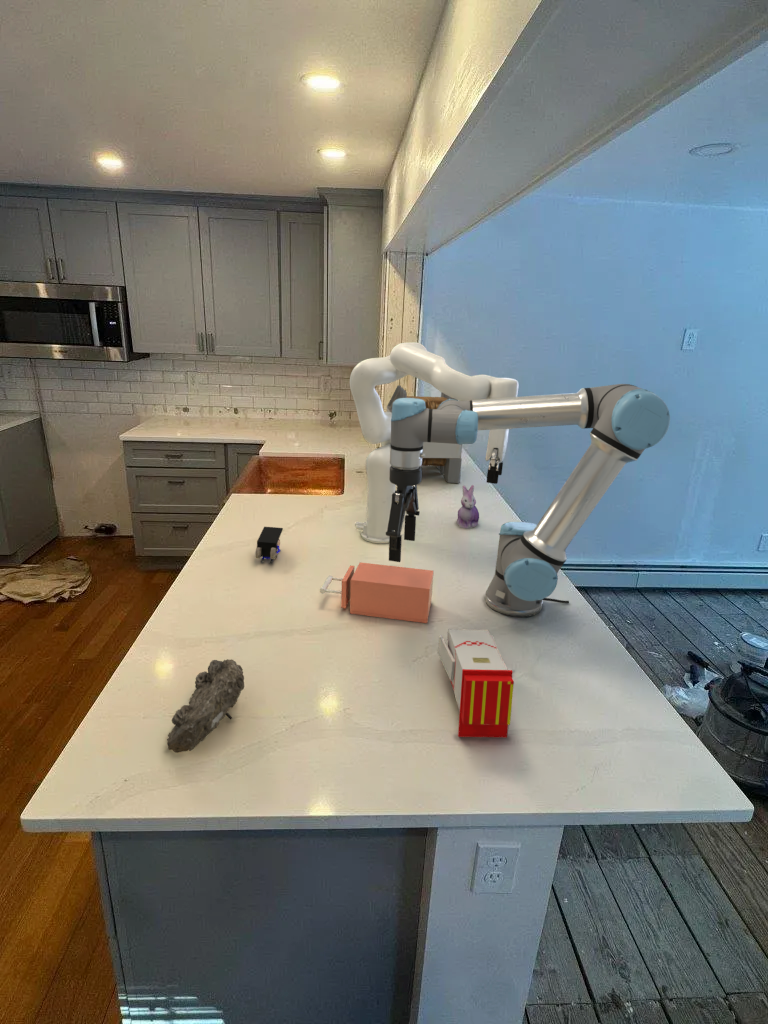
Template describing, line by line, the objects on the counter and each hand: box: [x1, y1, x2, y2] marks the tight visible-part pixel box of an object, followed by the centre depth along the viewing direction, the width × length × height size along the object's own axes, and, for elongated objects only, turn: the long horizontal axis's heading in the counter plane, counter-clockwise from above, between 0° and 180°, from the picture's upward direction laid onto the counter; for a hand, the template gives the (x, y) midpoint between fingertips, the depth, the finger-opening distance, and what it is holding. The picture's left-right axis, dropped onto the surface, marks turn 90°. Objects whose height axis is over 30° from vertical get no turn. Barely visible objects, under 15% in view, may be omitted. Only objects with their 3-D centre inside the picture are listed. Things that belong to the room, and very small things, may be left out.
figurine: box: [456, 484, 480, 529], centre depth 209 cm, size 9×10×15 cm
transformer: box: [386, 384, 463, 484], centre depth 268 cm, size 34×33×41 cm
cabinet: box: [349, 561, 434, 624], centre depth 149 cm, size 20×11×10 cm, turn 80°
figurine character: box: [254, 526, 284, 564], centre depth 176 cm, size 7×8×15 cm
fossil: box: [166, 658, 245, 754], centre depth 106 cm, size 22×10×15 cm
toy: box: [437, 628, 515, 738], centre depth 117 cm, size 12×13×30 cm
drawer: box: [319, 565, 355, 609], centre depth 149 cm, size 25×10×8 cm, turn 80°
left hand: (494, 478), depth 170 cm, fingers open, 9 cm apart
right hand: (402, 550), depth 139 cm, fingers open, 13 cm apart
